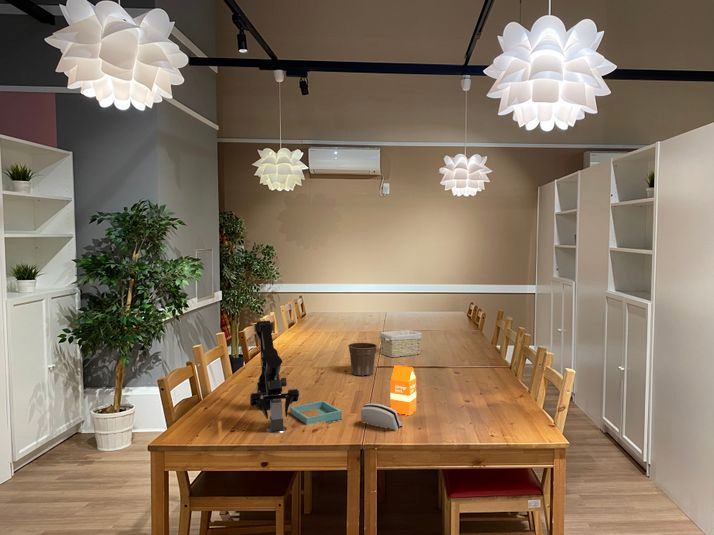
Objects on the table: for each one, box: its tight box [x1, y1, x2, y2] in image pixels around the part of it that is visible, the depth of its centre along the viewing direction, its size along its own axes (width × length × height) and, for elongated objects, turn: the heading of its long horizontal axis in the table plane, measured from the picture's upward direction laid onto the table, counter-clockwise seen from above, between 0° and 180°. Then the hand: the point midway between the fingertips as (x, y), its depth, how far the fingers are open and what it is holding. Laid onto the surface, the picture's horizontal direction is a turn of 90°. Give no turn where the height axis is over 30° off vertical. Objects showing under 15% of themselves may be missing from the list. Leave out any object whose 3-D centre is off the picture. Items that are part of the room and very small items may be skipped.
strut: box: [269, 399, 284, 432], centre depth 190 cm, size 5×5×11 cm
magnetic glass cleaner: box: [360, 403, 403, 431], centre depth 198 cm, size 17×5×10 cm, turn 57°
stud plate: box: [265, 425, 288, 434], centre depth 190 cm, size 8×8×5 cm
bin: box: [289, 400, 343, 426], centre depth 206 cm, size 16×16×4 cm
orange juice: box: [390, 364, 417, 416], centre depth 214 cm, size 8×9×20 cm
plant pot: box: [347, 342, 378, 377], centre depth 276 cm, size 16×16×16 cm
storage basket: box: [379, 329, 423, 358], centre depth 324 cm, size 24×16×15 cm
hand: (276, 417), depth 189 cm, fingers open, 7 cm apart
